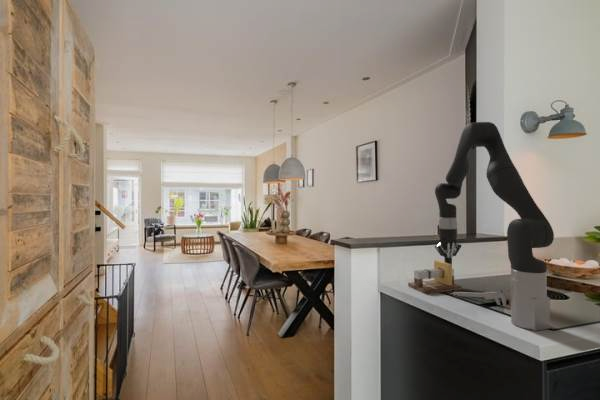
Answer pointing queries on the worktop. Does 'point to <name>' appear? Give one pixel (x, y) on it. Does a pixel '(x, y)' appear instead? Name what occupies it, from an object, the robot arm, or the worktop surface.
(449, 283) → the tan flat square slab
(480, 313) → the worktop surface
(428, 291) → the pipe board
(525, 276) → the robot arm
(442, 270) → the pipe
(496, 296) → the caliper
